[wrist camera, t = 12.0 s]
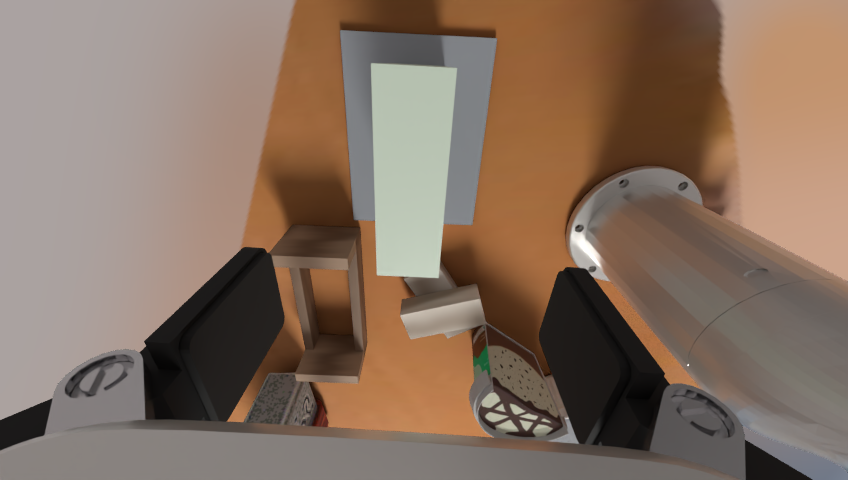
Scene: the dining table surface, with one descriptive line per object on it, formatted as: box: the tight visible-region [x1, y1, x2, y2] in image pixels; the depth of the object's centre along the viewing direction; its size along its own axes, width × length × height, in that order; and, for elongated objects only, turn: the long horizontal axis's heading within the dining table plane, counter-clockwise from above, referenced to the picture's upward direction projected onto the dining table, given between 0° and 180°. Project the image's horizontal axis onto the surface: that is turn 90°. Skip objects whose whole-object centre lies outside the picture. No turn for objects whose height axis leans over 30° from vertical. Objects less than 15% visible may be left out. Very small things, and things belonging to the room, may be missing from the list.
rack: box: [269, 225, 367, 384], centre depth 34 cm, size 7×17×6 cm, turn 177°
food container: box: [469, 322, 569, 441], centre depth 37 cm, size 12×6×10 cm, turn 51°
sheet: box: [371, 63, 457, 278], centre depth 23 cm, size 4×12×12 cm, turn 177°
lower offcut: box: [404, 260, 477, 338], centre depth 36 cm, size 4×10×2 cm, turn 30°
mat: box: [340, 30, 497, 225], centre depth 28 cm, size 12×16×1 cm
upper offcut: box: [400, 283, 486, 339], centre depth 34 cm, size 4×8×2 cm, turn 106°
